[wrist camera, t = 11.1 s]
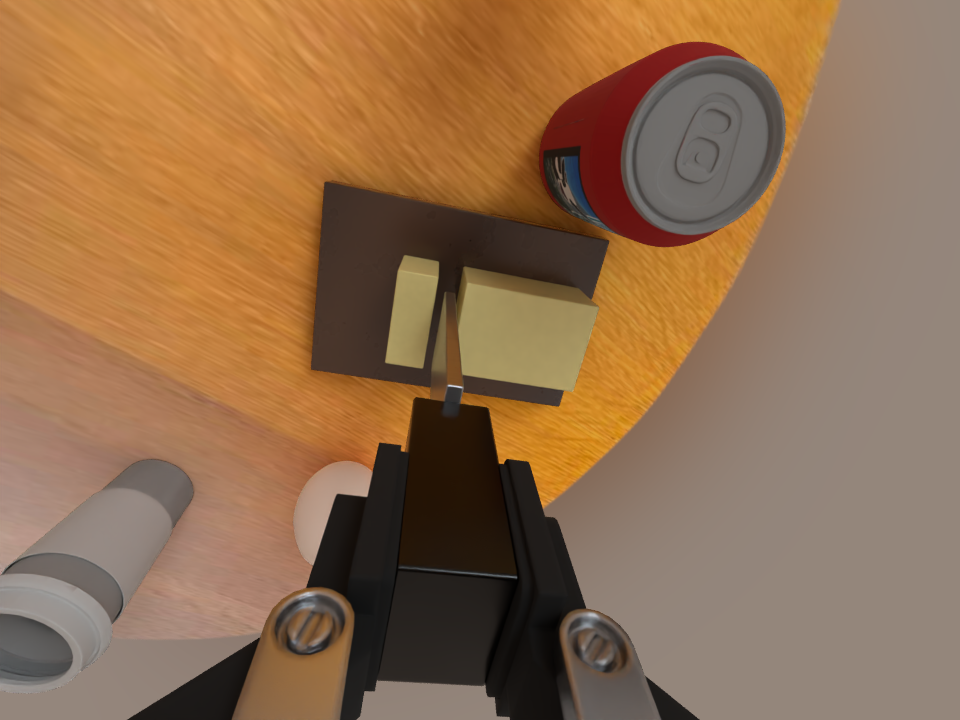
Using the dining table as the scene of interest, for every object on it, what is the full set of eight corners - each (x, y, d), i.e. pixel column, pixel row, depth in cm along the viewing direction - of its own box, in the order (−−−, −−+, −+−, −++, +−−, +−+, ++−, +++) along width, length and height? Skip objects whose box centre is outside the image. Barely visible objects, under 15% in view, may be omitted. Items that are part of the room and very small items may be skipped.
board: (601, 236, 28) (610, 240, 26) (554, 396, 32) (559, 407, 31) (330, 180, 26) (324, 181, 24) (316, 360, 30) (310, 370, 28)
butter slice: (439, 261, 26) (438, 277, 23) (425, 342, 28) (422, 369, 24) (404, 254, 26) (397, 269, 22) (392, 337, 28) (384, 363, 24)
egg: (397, 498, 34) (384, 587, 27) (323, 510, 34) (291, 603, 27) (380, 435, 32) (362, 515, 25) (302, 448, 32) (260, 532, 25)
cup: (146, 426, 30) (-22, 575, 19) (230, 484, 33) (123, 647, 22) (84, 488, 32) (-104, 658, 21) (169, 540, 34) (40, 718, 23)
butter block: (579, 287, 27) (600, 307, 24) (556, 363, 29) (573, 392, 26) (463, 265, 26) (466, 282, 23) (448, 346, 28) (449, 373, 25)
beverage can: (520, 200, 27) (574, 226, 16) (559, 69, 24) (655, -8, 13) (625, 232, 28) (745, 276, 17) (673, 110, 25) (848, 69, 14)
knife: (472, 295, 22) (529, 557, 8) (457, 369, 24) (480, 704, 9) (427, 287, 22) (398, 544, 7) (414, 363, 24) (370, 698, 9)
